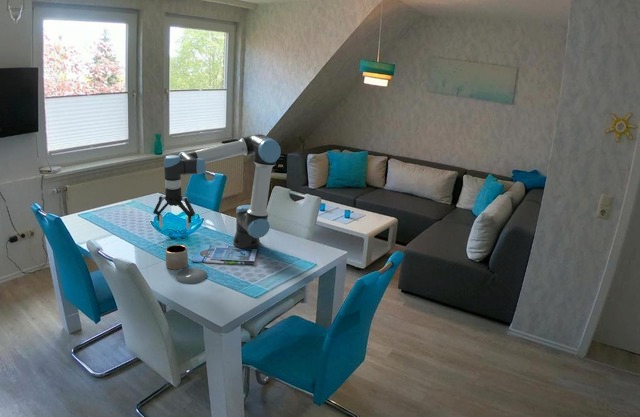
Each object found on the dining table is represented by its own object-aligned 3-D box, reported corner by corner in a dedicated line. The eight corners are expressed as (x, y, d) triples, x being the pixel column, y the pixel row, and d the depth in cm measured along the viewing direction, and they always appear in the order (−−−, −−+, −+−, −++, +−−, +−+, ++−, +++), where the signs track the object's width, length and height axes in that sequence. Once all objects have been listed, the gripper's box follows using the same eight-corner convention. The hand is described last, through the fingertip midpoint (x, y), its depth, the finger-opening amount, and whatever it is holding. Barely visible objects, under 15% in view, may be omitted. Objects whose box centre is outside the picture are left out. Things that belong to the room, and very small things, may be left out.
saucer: (209, 270, 255) (209, 268, 254) (203, 284, 240) (203, 282, 240) (180, 268, 254) (180, 267, 254) (171, 282, 240) (171, 280, 240)
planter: (179, 259, 265) (179, 242, 262) (192, 266, 259) (191, 248, 255) (161, 265, 257) (160, 248, 254) (174, 272, 250) (173, 255, 247)
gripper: (200, 186, 248) (201, 226, 255) (150, 183, 248) (152, 223, 255) (196, 190, 241) (197, 231, 248) (145, 187, 241) (147, 228, 248)
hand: (174, 227), depth 251 cm, fingers open, 13 cm apart
